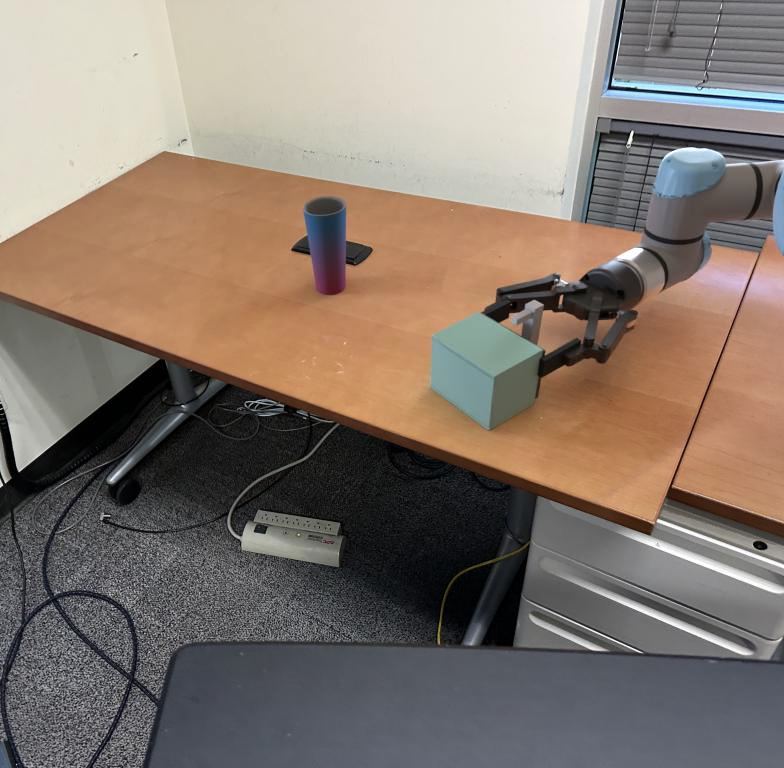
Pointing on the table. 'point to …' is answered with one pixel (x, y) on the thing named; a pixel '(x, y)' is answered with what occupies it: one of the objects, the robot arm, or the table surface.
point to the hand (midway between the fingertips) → (505, 346)
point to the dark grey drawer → (529, 326)
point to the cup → (327, 242)
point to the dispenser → (484, 369)
